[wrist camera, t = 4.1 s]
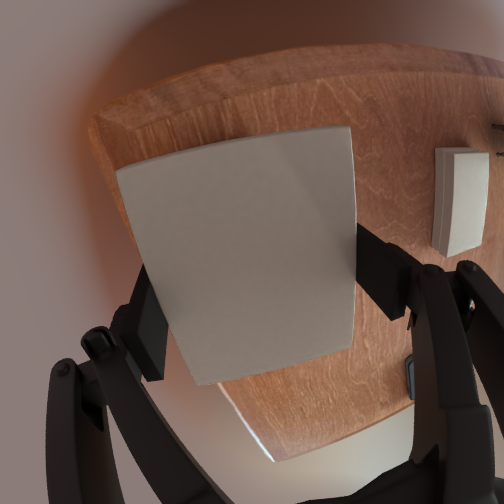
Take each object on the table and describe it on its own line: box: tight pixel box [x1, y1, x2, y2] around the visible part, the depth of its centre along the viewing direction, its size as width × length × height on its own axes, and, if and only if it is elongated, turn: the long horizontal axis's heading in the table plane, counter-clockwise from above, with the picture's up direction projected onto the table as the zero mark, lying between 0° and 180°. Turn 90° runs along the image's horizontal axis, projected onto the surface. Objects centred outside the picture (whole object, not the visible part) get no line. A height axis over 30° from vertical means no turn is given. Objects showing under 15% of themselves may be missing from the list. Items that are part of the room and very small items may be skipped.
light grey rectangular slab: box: [115, 126, 357, 386], centre depth 14 cm, size 13×10×2 cm
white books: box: [431, 147, 489, 258], centre depth 26 cm, size 12×8×3 cm, turn 10°
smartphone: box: [405, 355, 415, 400], centre depth 40 cm, size 8×2×15 cm
